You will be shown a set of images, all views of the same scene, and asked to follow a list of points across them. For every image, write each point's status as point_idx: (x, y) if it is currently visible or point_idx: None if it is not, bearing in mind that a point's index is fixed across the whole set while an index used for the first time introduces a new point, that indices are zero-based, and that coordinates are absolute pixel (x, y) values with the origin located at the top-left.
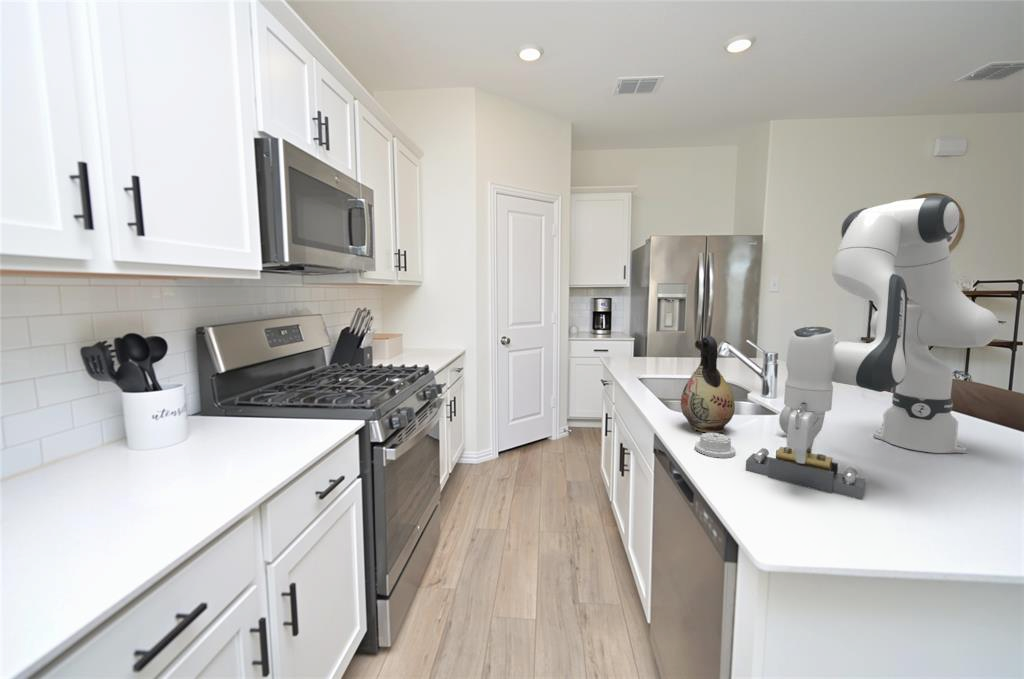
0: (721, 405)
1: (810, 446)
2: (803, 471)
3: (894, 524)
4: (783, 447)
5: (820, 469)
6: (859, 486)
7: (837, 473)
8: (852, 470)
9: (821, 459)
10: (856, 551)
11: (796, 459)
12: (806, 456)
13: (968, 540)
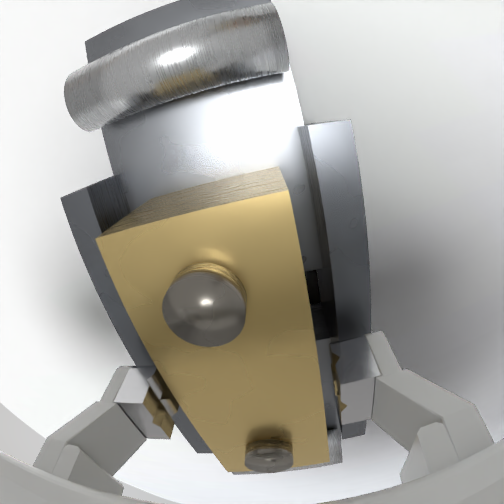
0: None
1: (377, 421)
2: None
3: (171, 461)
4: (289, 223)
5: (189, 428)
6: None
7: (327, 409)
8: (305, 468)
9: (242, 454)
10: (32, 418)
11: (115, 378)
12: (170, 429)
13: (223, 497)
